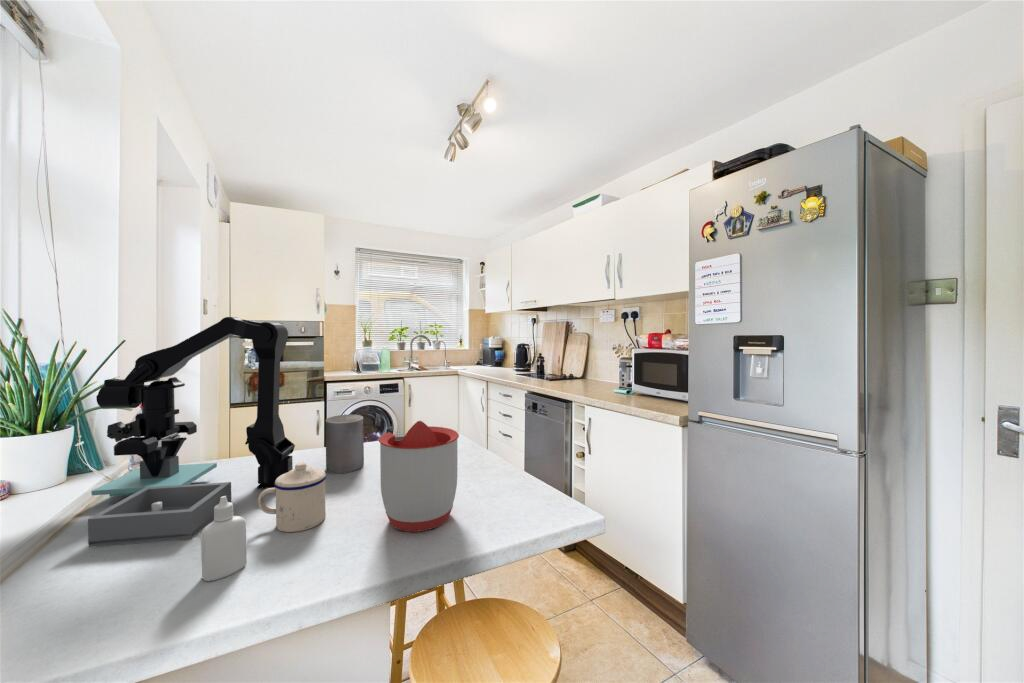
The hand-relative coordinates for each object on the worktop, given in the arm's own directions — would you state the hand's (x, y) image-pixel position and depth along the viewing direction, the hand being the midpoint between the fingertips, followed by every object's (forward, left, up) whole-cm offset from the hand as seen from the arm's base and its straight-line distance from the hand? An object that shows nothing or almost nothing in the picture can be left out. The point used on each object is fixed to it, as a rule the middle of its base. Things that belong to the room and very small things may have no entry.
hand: (160, 473), depth 92 cm
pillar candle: (-39, -9, -4) cm, 40 cm away
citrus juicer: (-60, +24, -4) cm, 65 cm away
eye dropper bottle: (-31, +37, -4) cm, 48 cm away
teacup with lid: (-36, +22, -4) cm, 42 cm away
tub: (-12, +18, -4) cm, 22 cm away
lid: (0, 0, -3) cm, 3 cm away
